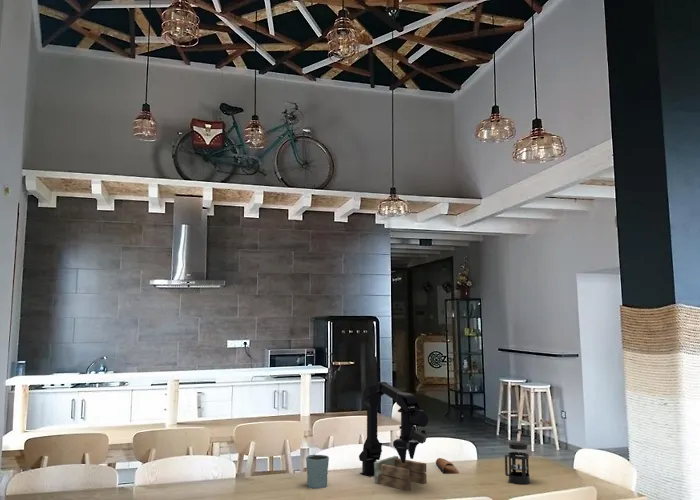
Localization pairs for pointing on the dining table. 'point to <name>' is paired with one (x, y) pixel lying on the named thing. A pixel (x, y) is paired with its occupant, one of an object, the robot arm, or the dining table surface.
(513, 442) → the french press
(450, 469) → the sunglasses case
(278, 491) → the dining table surface
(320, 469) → the grey-green cup
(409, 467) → the brown wooden crate
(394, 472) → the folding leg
